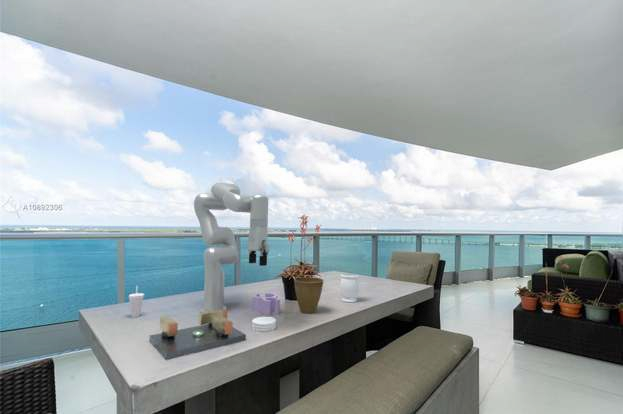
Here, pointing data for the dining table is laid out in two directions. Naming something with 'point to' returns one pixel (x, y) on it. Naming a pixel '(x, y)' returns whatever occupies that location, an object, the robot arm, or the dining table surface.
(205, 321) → the beige rectangular block
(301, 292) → the plant pot
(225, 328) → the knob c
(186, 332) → the plate
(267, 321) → the white round disc
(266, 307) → the lavender lobed block
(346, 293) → the jar
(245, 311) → the dining table surface
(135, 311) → the smoothie
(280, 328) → the dining table surface
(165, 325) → the olive and orange block
